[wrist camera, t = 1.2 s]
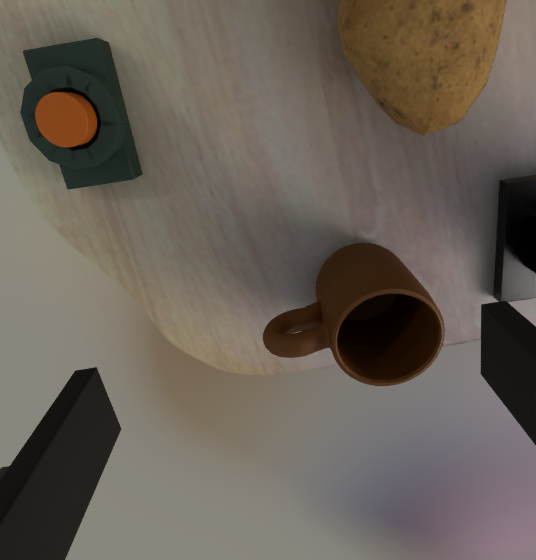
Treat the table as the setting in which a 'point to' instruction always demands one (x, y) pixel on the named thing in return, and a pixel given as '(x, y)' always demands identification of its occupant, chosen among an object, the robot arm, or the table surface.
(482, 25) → the potato
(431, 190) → the table surface
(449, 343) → the table surface
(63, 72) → the button block
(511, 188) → the bracket
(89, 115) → the button
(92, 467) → the robot arm
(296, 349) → the mug
